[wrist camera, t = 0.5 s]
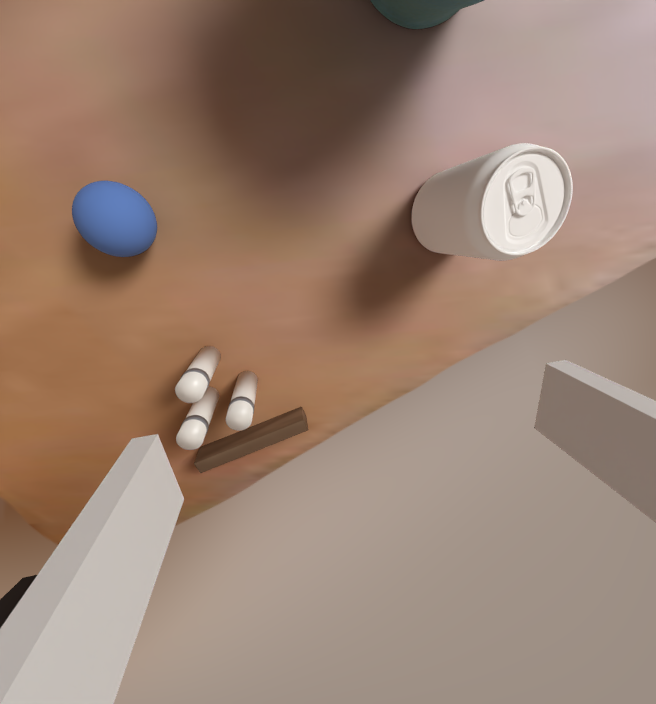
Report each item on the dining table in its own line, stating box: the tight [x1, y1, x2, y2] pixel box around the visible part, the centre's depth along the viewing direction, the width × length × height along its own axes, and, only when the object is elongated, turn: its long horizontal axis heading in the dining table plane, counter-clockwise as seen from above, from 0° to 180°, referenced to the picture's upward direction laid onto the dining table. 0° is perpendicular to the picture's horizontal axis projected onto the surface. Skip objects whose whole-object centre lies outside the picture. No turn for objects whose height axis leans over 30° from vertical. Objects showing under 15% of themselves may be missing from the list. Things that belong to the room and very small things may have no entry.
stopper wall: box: [194, 407, 308, 473], centre depth 38 cm, size 2×14×3 cm, turn 110°
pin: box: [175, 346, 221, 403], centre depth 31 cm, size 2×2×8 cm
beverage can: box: [412, 143, 572, 261], centre depth 28 cm, size 8×8×12 cm
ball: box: [72, 181, 157, 257], centre depth 26 cm, size 6×6×6 cm
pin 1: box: [176, 386, 219, 450], centre depth 33 cm, size 2×2×8 cm
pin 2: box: [226, 371, 258, 430], centre depth 33 cm, size 2×2×8 cm
